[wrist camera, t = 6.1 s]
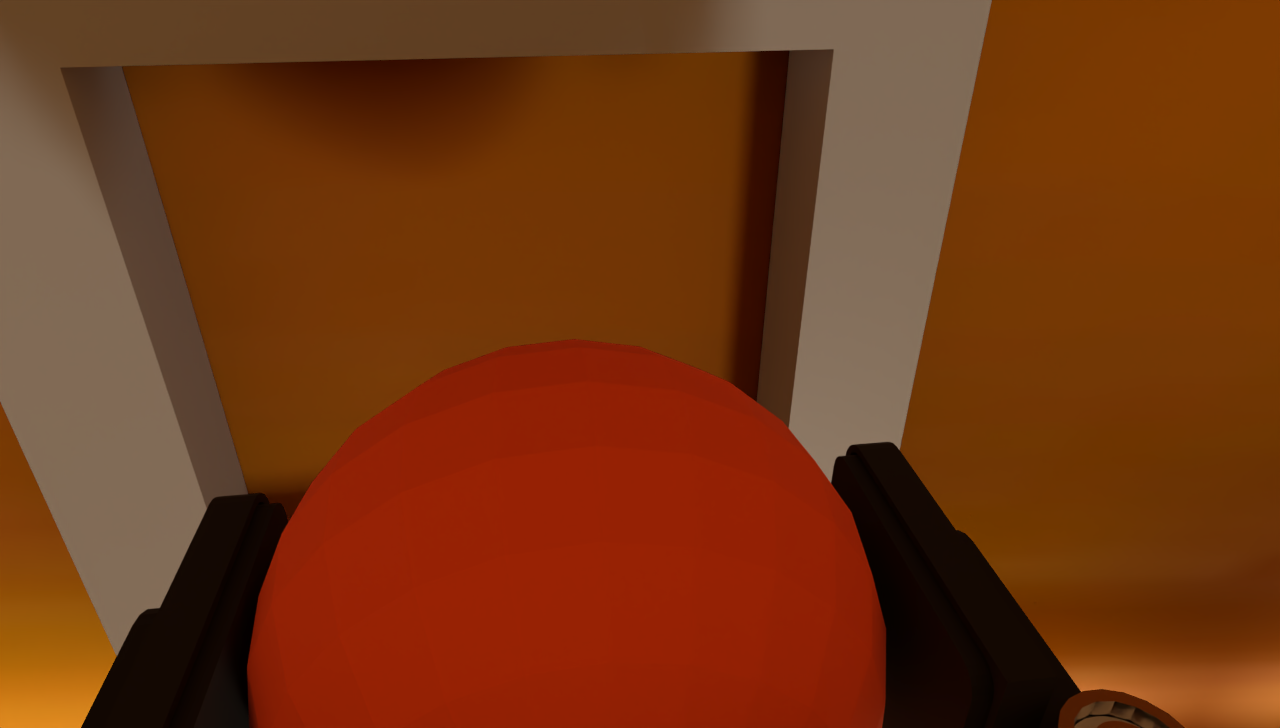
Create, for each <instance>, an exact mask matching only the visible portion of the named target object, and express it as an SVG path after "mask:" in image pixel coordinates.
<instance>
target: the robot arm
mask: <svg viewBox="0 0 1280 728" xmlns="http://www.w3.org/2000/svg"><path fill="white" fill-rule="evenodd" d="M831 484H832V485H833V487H834V488H835V490H836V491H837V493H838V494H839V495H840V497H841V498H842V500H843V501H844V502H845V504H846V505H847V507H848V508H849V509H850V511H851V512H852V515H853V518H854V521H855V524H856V527H857V530H858V533H859V536H860V539H861V542H862V545H863V548H864V551H865V554H866V557H867V560H868V563H869V566H870V569H871V572H872V575H873V579H874V583H875V587H876V591H877V595H878V599H879V603H880V607H881V611H882V615H883V618H884V622H885V626H886V699H885V710H884V717H883V724H882V728H1184V727H1183V726H1182V725H1181V724H1180V723H1179V722H1177V721H1176V720H1175V719H1174V718H1173V717H1172V716H1170V715H1169V714H1168V713H1166V712H1164V711H1163V710H1161V709H1159V708H1158V707H1156V706H1154V705H1152V704H1151V703H1149V702H1147V701H1145V700H1142V699H1140V698H1137V697H1134V696H1132V695H1129V694H1126V693H1123V692H1117V691H1110V690H1104V689H1099V690H1090V691H1083V692H1081V691H1080V690H1079V688H1078V687H1077V686H1076V684H1075V683H1074V681H1073V680H1072V679H1071V677H1070V676H1069V675H1068V673H1067V672H1066V670H1065V669H1064V668H1063V666H1062V665H1061V663H1060V662H1059V661H1058V659H1057V658H1056V656H1055V655H1054V654H1053V652H1052V651H1051V649H1050V648H1049V647H1048V645H1047V644H1046V643H1045V641H1044V640H1043V638H1042V637H1041V636H1040V634H1039V633H1038V631H1037V630H1036V629H1035V627H1034V626H1033V624H1032V623H1031V622H1030V620H1029V619H1028V617H1027V616H1026V615H1025V613H1024V612H1023V611H1022V609H1021V608H1020V606H1019V605H1018V604H1017V602H1016V601H1015V599H1014V598H1013V597H1012V595H1011V594H1010V592H1009V591H1008V590H1007V588H1006V587H1005V585H1004V584H1003V583H1002V581H1001V580H1000V579H999V577H998V576H997V574H996V573H995V572H994V570H993V569H992V567H991V566H990V565H989V563H988V562H987V560H986V559H985V558H984V556H983V555H982V553H981V552H980V551H979V549H978V548H977V546H976V545H975V544H974V542H973V541H972V540H971V539H970V538H969V537H968V536H967V535H966V534H965V533H963V532H961V531H959V530H955V528H954V527H953V526H952V524H951V523H950V521H949V520H948V518H947V517H946V516H945V514H944V513H943V511H942V510H941V508H940V507H939V506H938V504H937V503H936V501H935V500H934V499H933V497H932V496H931V494H930V493H929V491H928V490H927V489H926V487H925V486H924V484H923V483H922V482H921V480H920V479H919V477H918V476H917V474H916V473H915V472H914V470H913V469H912V467H911V466H910V464H909V463H908V462H907V460H906V459H905V457H904V456H903V455H902V453H901V452H900V450H899V449H898V447H897V446H896V445H895V444H894V443H892V442H878V443H866V444H854V445H851V446H849V448H848V449H847V452H846V456H839V457H837V458H836V460H835V463H834V467H833V474H832V480H831ZM287 524H288V521H287V517H286V513H285V510H284V508H283V506H282V504H280V503H273V504H269V501H268V499H267V497H266V496H265V494H262V493H255V494H243V495H231V496H219V497H215V498H213V499H212V501H211V502H210V504H209V505H208V508H207V510H206V512H205V514H204V516H203V518H202V520H201V522H200V524H199V527H198V529H197V531H196V533H195V535H194V537H193V539H192V541H191V543H190V545H189V548H188V550H187V552H186V554H185V556H184V558H183V560H182V562H181V564H180V566H179V569H178V571H177V573H176V575H175V577H174V579H173V581H172V583H171V585H170V588H169V590H168V592H167V594H166V596H165V598H164V600H163V602H162V604H161V606H160V608H154V609H147V610H145V611H144V612H143V613H141V614H140V615H139V616H138V618H137V619H136V621H135V622H134V624H133V625H132V627H131V629H130V631H129V633H128V635H127V637H126V639H125V641H124V643H123V645H122V647H121V649H120V651H119V653H118V655H117V657H116V659H115V661H114V663H113V665H112V667H111V669H110V671H109V673H108V675H107V677H106V679H105V681H104V683H103V685H102V687H101V689H100V691H99V693H98V695H97V697H96V699H95V701H94V703H93V705H92V707H91V709H90V711H89V713H88V715H87V717H86V719H85V721H84V723H83V725H82V727H81V728H249V709H248V681H247V664H248V658H249V652H250V645H251V639H252V633H253V627H254V621H255V615H256V608H257V602H258V596H259V593H260V591H261V588H262V585H263V583H264V580H265V577H266V575H267V572H268V569H269V567H270V564H271V561H272V559H273V556H274V553H275V550H276V548H277V545H278V542H279V540H280V537H281V534H282V532H283V531H284V529H285V527H286V525H287Z"/></svg>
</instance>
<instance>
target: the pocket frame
mask: <svg viewBox="0 0 1280 728" xmlns="http://www.w3.org/2000/svg"><path fill="white" fill-rule="evenodd" d="M991 1H992V0H0V402H1V404H2V406H3V408H4V411H5V413H6V415H7V417H8V419H9V422H10V424H11V426H12V428H13V430H14V432H15V435H16V437H17V439H18V441H19V443H20V446H21V448H22V450H23V452H24V454H25V457H26V459H27V461H28V463H29V465H30V467H31V470H32V472H33V474H34V476H35V478H36V481H37V483H38V485H39V487H40V489H41V491H42V494H43V496H44V498H45V500H46V502H47V505H48V507H49V509H50V511H51V513H52V516H53V518H54V520H55V522H56V524H57V526H58V529H59V531H60V533H61V535H62V537H63V540H64V542H65V544H66V546H67V548H68V551H69V553H70V555H71V557H72V559H73V561H74V564H75V566H76V568H77V570H78V572H79V575H80V577H81V579H82V581H83V583H84V586H85V588H86V590H87V592H88V594H89V596H90V599H91V601H92V603H93V605H94V607H95V610H96V612H97V614H98V616H99V618H100V621H101V623H102V625H103V627H104V629H105V631H106V634H107V636H108V638H109V640H110V642H111V645H112V647H113V649H114V651H115V653H116V656H117V655H118V653H119V651H120V649H121V647H122V645H123V643H124V641H125V639H126V637H127V635H128V633H129V631H130V629H131V627H132V625H133V624H134V622H135V621H136V619H137V618H138V616H139V615H140V614H141V613H143V612H144V611H145V610H147V609H154V608H160V606H161V604H162V602H163V600H164V598H165V596H166V594H167V592H168V590H169V588H170V585H171V583H172V581H173V579H174V577H175V575H176V573H177V571H178V569H179V566H180V564H181V562H182V560H183V558H184V556H185V554H186V552H187V550H188V548H189V545H190V543H191V541H192V539H193V537H194V535H195V533H196V531H197V529H198V527H199V524H200V522H201V520H202V518H203V516H204V514H205V512H206V510H207V508H208V505H209V504H210V502H211V501H212V499H213V498H215V497H219V496H231V495H243V494H248V491H247V488H246V484H245V481H244V478H243V474H242V471H241V468H240V464H239V461H238V457H237V454H236V451H235V447H234V444H233V441H232V437H231V434H230V430H229V427H228V424H227V420H226V417H225V414H224V410H223V407H222V403H221V400H220V397H219V393H218V390H217V387H216V383H215V380H214V376H213V373H212V370H211V366H210V363H209V360H208V356H207V353H206V349H205V346H204V343H203V339H202V336H201V333H200V329H199V326H198V323H197V319H196V316H195V312H194V309H193V306H192V302H191V299H190V296H189V292H188V289H187V285H186V282H185V279H184V275H183V272H182V269H181V265H180V262H179V258H178V255H177V252H176V248H175V245H174V242H173V238H172V235H171V231H170V228H169V225H168V221H167V218H166V215H165V211H164V208H163V204H162V201H161V198H160V194H159V191H158V188H157V184H156V181H155V178H154V174H153V171H152V167H151V164H150V161H149V157H148V154H147V151H146V147H145V144H144V140H143V137H142V134H141V130H140V127H139V124H138V120H137V117H136V113H135V110H134V107H133V103H132V100H131V97H130V93H129V90H128V86H127V83H126V80H125V76H124V73H123V70H122V66H148V65H190V64H232V63H274V62H316V61H358V60H401V59H443V58H485V57H527V56H569V55H611V54H653V53H696V52H738V51H780V50H790V52H789V62H788V73H787V83H786V94H785V105H784V115H783V126H782V137H781V147H780V158H779V169H778V179H777V190H776V201H775V211H774V222H773V233H772V243H771V254H770V265H769V275H768V286H767V297H766V307H765V318H764V329H763V339H762V350H761V361H760V371H759V382H758V393H757V403H759V404H760V405H761V406H763V407H764V408H765V409H767V410H768V411H770V412H771V413H772V414H774V415H775V416H776V417H778V418H779V419H780V420H782V421H783V422H784V424H785V425H786V426H787V427H788V428H789V430H790V431H791V432H792V433H793V435H794V436H795V437H796V438H797V439H798V441H799V442H800V443H801V444H802V446H803V447H804V448H805V449H806V450H807V452H808V453H809V454H810V455H811V457H812V458H813V459H814V460H815V461H816V463H817V464H818V466H819V467H820V469H821V470H822V471H823V473H824V474H825V476H826V477H827V478H828V480H829V481H830V483H831V480H832V474H833V467H834V463H835V460H836V458H837V457H839V456H846V452H847V449H848V448H849V446H851V445H854V444H866V443H878V442H892V443H894V444H895V445H896V446H897V447H898V449H899V450H900V445H901V440H902V435H903V430H904V425H905V420H906V415H907V411H908V406H909V401H910V396H911V391H912V386H913V381H914V376H915V372H916V367H917V362H918V357H919V352H920V347H921V342H922V337H923V333H924V328H925V323H926V318H927V313H928V308H929V303H930V298H931V294H932V289H933V284H934V279H935V274H936V269H937V264H938V259H939V255H940V250H941V245H942V240H943V235H944V230H945V225H946V220H947V215H948V211H949V206H950V201H951V196H952V191H953V186H954V181H955V176H956V172H957V167H958V162H959V157H960V152H961V147H962V142H963V137H964V133H965V128H966V123H967V118H968V113H969V108H970V103H971V98H972V94H973V89H974V84H975V79H976V74H977V69H978V64H979V59H980V55H981V50H982V45H983V40H984V35H985V30H986V25H987V20H988V16H989V11H990V6H991Z"/></svg>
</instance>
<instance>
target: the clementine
mask: <svg viewBox="0 0 1280 728" xmlns="http://www.w3.org/2000/svg"><path fill="white" fill-rule="evenodd" d="M247 681H248V709H249V728H882V724H883V717H884V710H885V699H886V626H885V622H884V618H883V615H882V611H881V607H880V603H879V599H878V595H877V591H876V587H875V583H874V579H873V575H872V572H871V569H870V566H869V563H868V560H867V557H866V554H865V551H864V548H863V545H862V542H861V539H860V536H859V533H858V530H857V527H856V524H855V521H854V518H853V515H852V512H851V511H850V509H849V508H848V507H847V505H846V504H845V502H844V501H843V500H842V498H841V497H840V495H839V494H838V493H837V491H836V490H835V488H834V487H833V485H832V484H831V483H830V481H829V480H828V478H827V477H826V476H825V474H824V473H823V471H822V470H821V469H820V467H819V466H818V464H817V463H816V461H815V460H814V459H813V458H812V457H811V455H810V454H809V453H808V452H807V450H806V449H805V448H804V447H803V446H802V444H801V443H800V442H799V441H798V439H797V438H796V437H795V436H794V435H793V433H792V432H791V431H790V430H789V428H788V427H787V426H786V425H785V424H784V422H783V421H782V420H780V419H779V418H778V417H776V416H775V415H774V414H772V413H771V412H770V411H768V410H767V409H765V408H764V407H763V406H761V405H760V404H759V403H757V402H756V401H755V400H753V399H752V398H751V397H749V396H748V395H746V394H745V393H744V392H742V391H741V390H740V389H738V388H737V387H736V386H734V385H733V384H732V383H730V382H728V381H726V380H724V379H721V378H719V377H717V376H714V375H712V374H710V373H707V372H705V371H702V370H700V369H698V368H695V367H693V366H690V365H687V364H685V363H682V362H679V361H677V360H674V359H671V358H669V357H666V356H663V355H661V354H658V353H655V352H653V351H650V350H647V349H645V348H642V347H638V346H629V345H621V344H612V343H603V342H594V341H586V340H577V339H572V340H563V341H555V342H546V343H538V344H530V345H521V346H513V347H506V348H503V349H500V350H498V351H495V352H492V353H489V354H487V355H484V356H481V357H478V358H476V359H473V360H470V361H468V362H465V363H462V364H459V365H457V366H454V367H451V368H448V369H446V370H443V371H442V372H440V373H438V374H437V375H435V376H434V377H432V378H431V379H429V380H428V381H426V382H424V383H423V384H421V385H420V386H418V387H417V388H415V389H414V390H412V391H411V392H409V393H408V394H407V395H405V396H404V397H402V398H401V399H399V400H398V401H396V402H395V403H393V404H392V405H390V406H389V407H387V408H386V409H385V410H383V411H382V412H380V413H379V414H377V415H376V416H374V417H373V418H371V419H370V420H368V421H367V422H365V423H364V424H363V425H361V426H360V427H358V428H357V429H356V430H355V431H354V432H353V433H352V434H351V436H350V437H349V438H348V439H347V440H346V442H345V443H344V444H343V445H342V446H341V448H340V449H339V450H338V451H337V453H336V454H335V455H334V456H333V457H332V459H331V460H330V461H329V462H328V463H327V465H326V466H325V467H324V468H323V469H322V471H321V472H320V473H319V474H318V476H317V477H316V478H315V479H314V480H313V482H312V483H311V485H310V486H309V488H308V490H307V492H306V493H305V495H304V497H303V498H302V500H301V502H300V503H299V505H298V507H297V508H296V510H295V512H294V514H293V515H292V517H291V519H290V520H289V522H288V524H287V525H286V527H285V529H284V531H283V532H282V534H281V537H280V540H279V542H278V545H277V548H276V550H275V553H274V556H273V559H272V561H271V564H270V567H269V569H268V572H267V575H266V577H265V580H264V583H263V585H262V588H261V591H260V593H259V596H258V602H257V608H256V615H255V621H254V627H253V633H252V639H251V645H250V652H249V658H248V664H247Z"/></svg>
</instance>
